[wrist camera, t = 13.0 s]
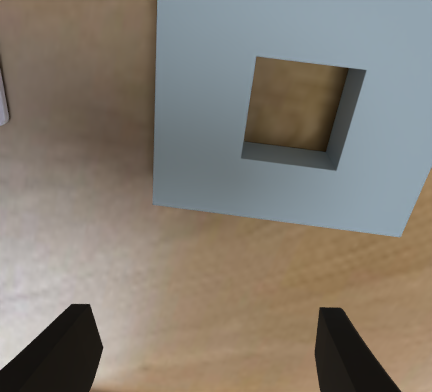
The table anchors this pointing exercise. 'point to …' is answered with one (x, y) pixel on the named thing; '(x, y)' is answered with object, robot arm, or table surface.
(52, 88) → the table surface
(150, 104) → the table surface
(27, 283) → the table surface
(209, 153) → the light blue flat block
